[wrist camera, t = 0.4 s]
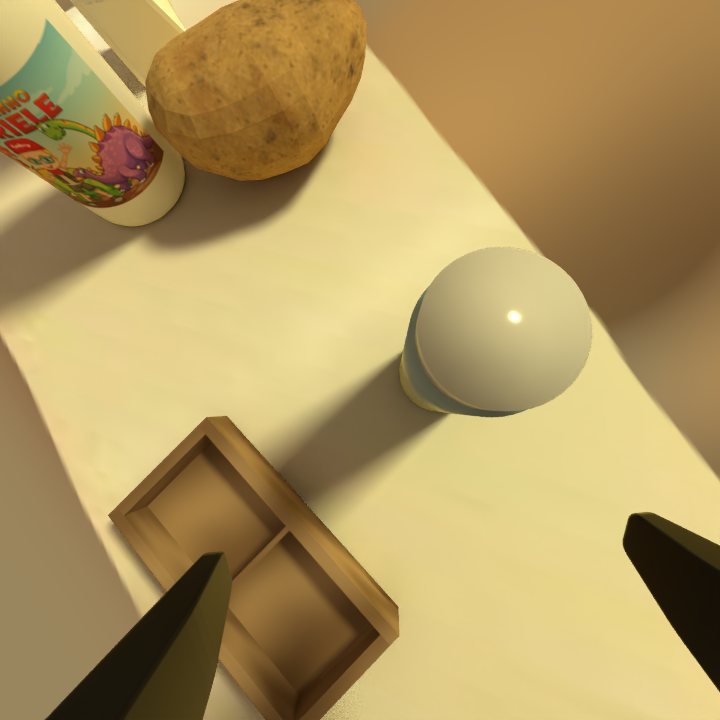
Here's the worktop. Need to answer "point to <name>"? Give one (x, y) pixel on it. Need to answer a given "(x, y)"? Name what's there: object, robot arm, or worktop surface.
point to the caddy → (262, 571)
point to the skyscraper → (133, 28)
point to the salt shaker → (495, 335)
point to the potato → (258, 84)
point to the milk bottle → (80, 119)
